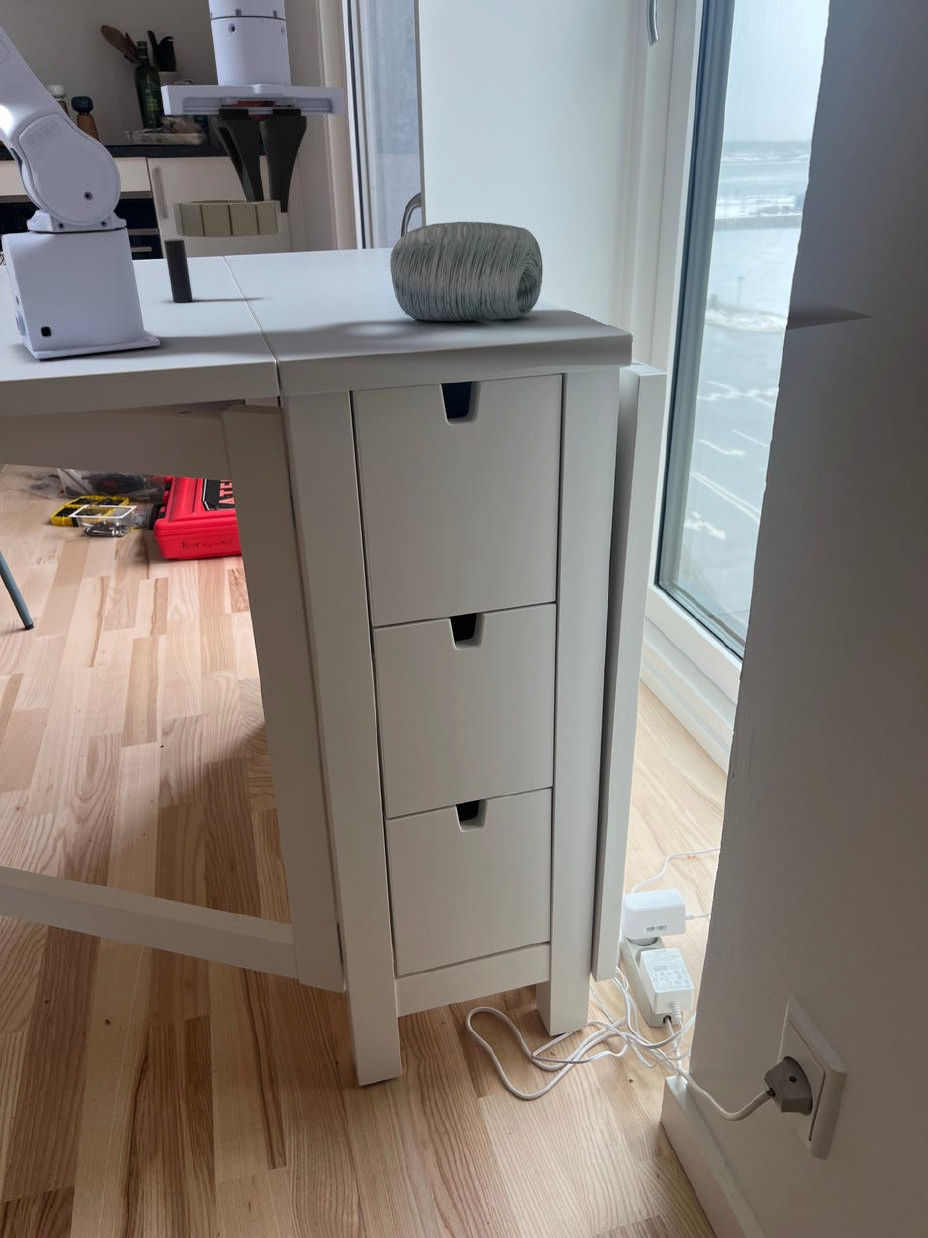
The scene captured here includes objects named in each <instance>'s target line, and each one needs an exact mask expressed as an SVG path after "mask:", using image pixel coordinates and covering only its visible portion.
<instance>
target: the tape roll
mask: <svg viewBox="0 0 928 1238" xmlns="http://www.w3.org/2000/svg"><path fill="white" fill-rule="evenodd" d="M172 209H173V214H174V216H173V217H174V222H175V229H176V235H179V236H182V237H189V238H191V237H194V238H231V237H232V238H233V237H234V238H238V237H257V236H267V235H276V234H279V233H281V232H283V229H284V228H283V220H282V213H281V208H280V201H279V200H273V199H270V198H264V201H261V202H248V203H247V201H246V198H218V199H216V198H215V199H214V198H212V199H192V200H191V199H190V200H180V201H174V202H172Z"/></svg>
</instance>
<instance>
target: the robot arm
mask: <svg viewBox="0 0 928 1238" xmlns="http://www.w3.org/2000/svg"><path fill="white" fill-rule="evenodd" d="M208 7H209V17H210V25H211V32H212V41H213V49H214V51H213V52H214V59H215V67H216V76H217V83H218V84H215V85H211V84H210V85H205V84H203V85H199V84H197V85H196V84H195V85H176V84H175V85H169V84H167V85H164V86H163V85H162V86H161V87H160V92H161V96H162V105H163V111H164V115H165V116H174V115H175V116H180V115H214V117H211V119H210V120H211V125H212V128H213V130H214V133H215V135H216V137H217V138H218V139H219V142H220V143H221V144H222V146H223V148H224V150H225V152H226V153H227V155H228V157H229V159H230V162H231V163H232V166H233V169H234V170H235V172H236V176H237V177H238V180H239V183H240V184H241V188H242V191H243V194H244V197H245V199H246V201H247V203H248V202H261V201H264V199H265V193H264V187H263V180H262V172H261V156H260V153H261V152H260V136H261V139H262V143H263V148H264V155H265V158H266V159H265V160H266V165H267V175H268V188H269V189H268V190H269V199H273V200H279V201H280V208H281V214H286V213H288V212H289V201H290V200H289V198H290V190H291V183H292V177H293V172H294V168H295V163H296V160H297V156H298V153H299V150H300V147H301V144H302V141H303V139H304V136H305V134H306V132H307V127H308V120H307V119H308V118H307V116H306V115H327V116H329V115H330V116H333V115H335V116H336V115H337V116H338V115H346V113H347V112H346V99H345V97H346V96H345V88H344V87H339V86H338V87H332V86H330V87H329V86H304V85H303V86H302V85H292V77H291V76H292V75H291V68H290V67H291V65H290V54H289V43H288V32H287V31H288V30H287V19H286V9H285V0H208ZM238 101H275V105H276V106H231V105H238V103H239V102H238ZM285 106H286V107H285ZM250 115H267V116H265V117H264V120H261V121H259V120H258V119H254V118H253V116H250ZM260 134H261V135H260ZM0 140H1V142H2V143H3V145H4V146H5V147H6V149H7V150H8V151H9V153H10V154H11V156H12V157H13V159H14V161H15V164H16V166H17V168H18V173H19V178H20V182H21V184H22V187H23V190H24V191H25V193H26V195H27V196H28V198H29V199H30V201H31V202H32V203H33V204H34V205H35V206H36V207H37V208H39V209H37V210H36V211H35V213H34V214H33V216H32V217H31V218H30V219H28V220H26V225H27V230H29V231H26V232H18V233H7V234H6V233H5V234H3V235H2V236H1V246H2V247H1V248H2V252H3V258H4V262H5V267H6V272H7V273H6V274H7V277H8V281H9V285H10V290H11V294H12V298H13V302H14V303H13V304H14V307H15V312H14V316H15V317H14V318H15V321H16V325H17V329H18V333H19V335H20V336H21V337H22V339H21V340H22V344H23V345H24V346H25V348H27V350H28V351H29V352H30V354H32V356H33V357H34V358H35V359H38V360H39V359H40V360H41V359H49V358H59V357H66V356H68V357H69V356H76V355H86V354H95V353H96V354H97V353H104V352H114V351H122V350H129V349H130V350H131V349H140V348H148V347H157V346H160V345H161V342H160V339H159V338H157V337H156V336H154V335H153V334H151V333H150V332H148V331H147V330H145V326H144V325H145V324H144V320H143V314H142V308H141V303H140V296H139V291H138V284H137V278H136V273H135V268H134V267H135V266H134V262H133V261H134V260H133V256H132V249H131V243H130V239H129V232H128V228H127V227H126V226H127V221H126V219H124V218H120V217H118V216H117V214H116V213H115V209H116V207H117V205H118V204H119V201H120V197H121V191H122V183H121V182H122V181H121V174H120V171H119V167H118V165H117V163H116V161H115V159H114V157H113V156H112V154H111V153H110V151H109V150H108V149H107V148H106V147H105V146H104V145H103V144H102V143H101V142H100V141H98V140H97V139H96V138H94V137H93V136H91V135H89V134H88V133H86V132H84V131H83V130H82V129H80V128H79V127H78V126H77V125H76V124H75V123H74V122H73V121H72V120H71V117H69V115H68V114H67V113H66V111H65V109H64V108H63V106H62V105H61V104H60V103H59V102H58V101H57V99H56V98H55V97H54V96H53V95H52V94H51V93H50V91H49V90H48V89H47V88H46V87H45V86H44V85H43V83H42V82H41V81H40V80H39V79H38V78H37V76H36V74H35V73H34V72H33V70H32V69H31V67H30V66H29V65H28V63H27V62H26V60H25V59H24V57H23V56H22V55H21V53H20V52H19V50H18V49H17V48H16V46H15V44H14V43H13V42H12V40H11V39H10V37H9V36H8V35H7V32H6V31H4V29H3V27H2V26H1V25H0Z"/></svg>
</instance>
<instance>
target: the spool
mask: <svg viewBox="0 0 928 1238" xmlns="http://www.w3.org/2000/svg"><path fill="white" fill-rule="evenodd" d="M389 264H390V274H391V282H392V286H393V293H394V296H395V299H396V301H397V303H398V305H399V307H400V309H401V310H402V312H404V314H405V315H407V316H409V317H411V318H412V319H414V320H423V321H428V322H433V321H435V322H464V321H469V322H470V321H491V320H505V319H506V320H507V319H510V320H513V319H518V318H520V317H523V316H526V315H528V314H530V312H532V310H533V308H534V307H535V306H536V304H537V303H538V300H539V297H540V294H541V290H542V289H541V287H542V284H543V272H544V271H543V270H544V269H543V268H544V267H543V256H542V253H541V248H540V245H539V242H538V240H537V239H536V237H535V236H534V234H533V233H532V232H531V231H530V230H528V229H527V228H526V227H521V226H515V225H511V224H503V223H496V222H483V221H453V222H438V223H432V224H428V225H424V226H420V227H418V228H415V229H413V230H410V231H408V232H407V233H405V234H403V235H402V236H401V237H400V238H399V239H398V240H397V242H396V243H395V245H394V247H392V250H391V252H390V259H389Z"/></svg>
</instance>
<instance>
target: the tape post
mask: <svg viewBox="0 0 928 1238" xmlns="http://www.w3.org/2000/svg"><path fill="white" fill-rule="evenodd" d="M163 243H164V250H165V256H166V263H167V269H168V277H169V283H170V289H171V295H172V302H174V303H190V302H193V300H194V298H193V291H192V284H191V279H190V271H189V264H188V258H187V256H188V255H187V250H186V244H185V243H186V241H185V239H183V238H174V239H173V238H172V239H171V238H170V239H164V240H163Z"/></svg>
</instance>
